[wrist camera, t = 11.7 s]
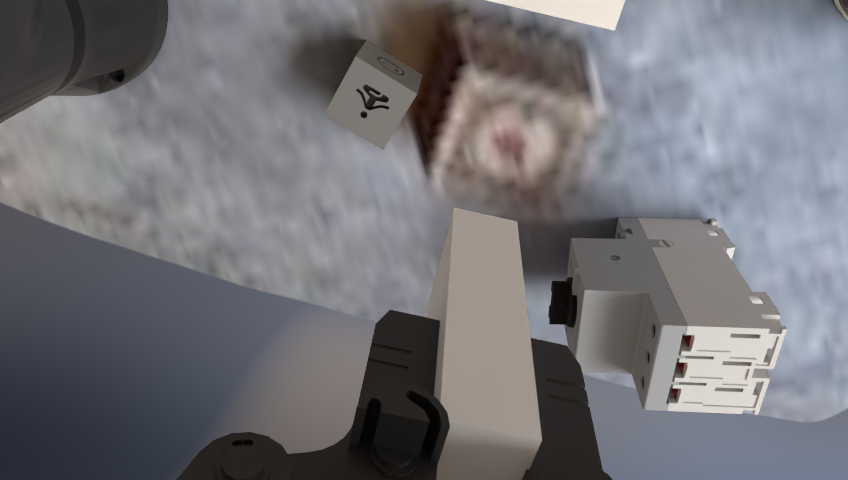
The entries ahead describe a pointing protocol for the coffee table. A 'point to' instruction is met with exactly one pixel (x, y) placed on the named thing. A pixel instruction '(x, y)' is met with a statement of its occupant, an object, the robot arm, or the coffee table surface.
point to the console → (574, 10)
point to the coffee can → (842, 7)
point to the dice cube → (374, 95)
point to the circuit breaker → (669, 316)
